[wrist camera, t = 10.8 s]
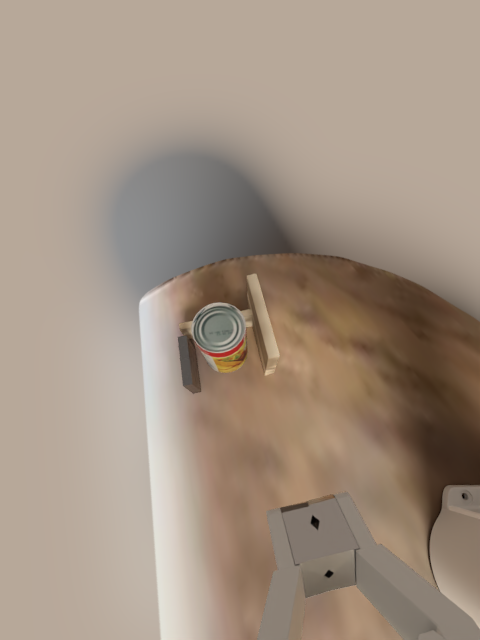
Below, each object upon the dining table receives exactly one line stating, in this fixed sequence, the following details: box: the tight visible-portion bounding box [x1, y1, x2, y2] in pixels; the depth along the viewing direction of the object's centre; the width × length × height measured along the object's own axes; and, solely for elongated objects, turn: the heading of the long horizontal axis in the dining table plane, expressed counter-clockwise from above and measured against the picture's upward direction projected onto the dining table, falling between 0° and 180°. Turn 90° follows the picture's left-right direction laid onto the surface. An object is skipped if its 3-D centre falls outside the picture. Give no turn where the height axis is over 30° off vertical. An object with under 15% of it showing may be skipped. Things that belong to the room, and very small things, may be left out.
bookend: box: [178, 335, 201, 393], centre depth 42 cm, size 1×8×7 cm, turn 11°
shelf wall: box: [179, 274, 280, 375], centre depth 42 cm, size 14×14×11 cm
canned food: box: [191, 302, 247, 373], centre depth 41 cm, size 8×8×12 cm
